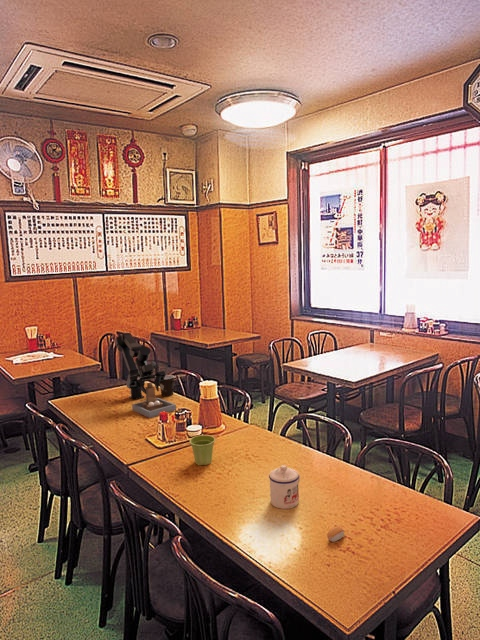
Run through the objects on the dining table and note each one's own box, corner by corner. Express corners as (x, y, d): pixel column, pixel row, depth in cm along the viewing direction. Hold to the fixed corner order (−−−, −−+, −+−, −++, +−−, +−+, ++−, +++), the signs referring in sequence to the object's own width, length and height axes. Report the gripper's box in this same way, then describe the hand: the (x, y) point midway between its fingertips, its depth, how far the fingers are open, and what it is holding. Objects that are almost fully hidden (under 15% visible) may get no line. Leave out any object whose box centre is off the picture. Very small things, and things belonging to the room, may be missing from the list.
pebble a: (147, 408, 240) (146, 403, 238) (150, 404, 242) (149, 400, 241) (152, 409, 239) (152, 404, 237) (155, 406, 241) (155, 401, 240)
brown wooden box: (142, 407, 244) (141, 383, 243) (157, 404, 248) (155, 381, 246) (149, 412, 237) (147, 387, 235) (163, 409, 240) (162, 385, 239)
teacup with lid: (287, 513, 142) (286, 475, 141) (263, 503, 149) (262, 467, 147) (311, 496, 151) (310, 461, 149) (287, 488, 157) (286, 454, 156)
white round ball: (152, 406, 241) (153, 401, 240) (155, 404, 243) (156, 398, 242) (157, 408, 240) (158, 403, 239) (160, 406, 243) (161, 401, 242)
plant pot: (221, 461, 180) (220, 438, 178) (202, 470, 173) (201, 447, 172) (204, 454, 186) (203, 433, 185) (185, 463, 179) (184, 440, 178)
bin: (132, 410, 243) (132, 404, 243) (158, 403, 253) (157, 397, 252) (149, 418, 230) (149, 412, 230) (176, 410, 240) (175, 404, 239)
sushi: (324, 541, 128) (324, 530, 128) (339, 531, 132) (339, 521, 132) (332, 545, 126) (332, 534, 126) (347, 535, 130) (347, 525, 130)
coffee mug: (157, 394, 269) (156, 376, 268) (172, 391, 273) (171, 374, 271) (163, 399, 259) (162, 381, 257) (179, 396, 262) (177, 378, 261)
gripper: (127, 360, 239) (136, 387, 231) (163, 354, 248) (173, 380, 240) (124, 372, 247) (132, 399, 239) (158, 367, 256) (168, 392, 248)
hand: (152, 392), depth 241 cm, fingers open, 6 cm apart
